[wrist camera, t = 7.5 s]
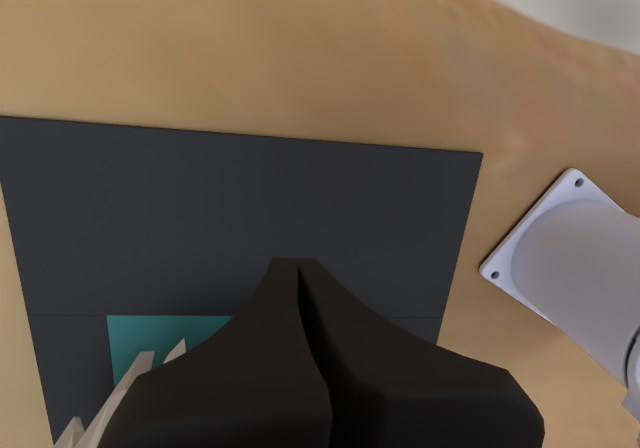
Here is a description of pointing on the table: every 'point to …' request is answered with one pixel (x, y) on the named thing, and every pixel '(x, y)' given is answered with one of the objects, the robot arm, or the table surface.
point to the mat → (210, 237)
